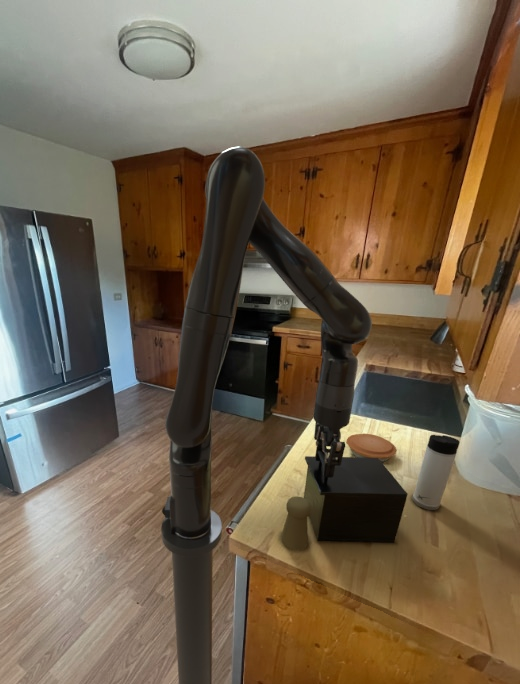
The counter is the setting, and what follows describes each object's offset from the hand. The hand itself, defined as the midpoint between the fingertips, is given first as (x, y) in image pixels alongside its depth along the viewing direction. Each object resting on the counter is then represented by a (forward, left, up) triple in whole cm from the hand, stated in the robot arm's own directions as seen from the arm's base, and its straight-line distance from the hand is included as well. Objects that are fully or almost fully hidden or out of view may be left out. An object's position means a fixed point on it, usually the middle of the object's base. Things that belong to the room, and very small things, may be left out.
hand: (323, 467), depth 76 cm
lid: (+7, 0, -2) cm, 7 cm away
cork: (-7, -7, -15) cm, 18 cm away
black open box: (+7, 0, -15) cm, 17 cm away
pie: (+26, +32, -15) cm, 44 cm away
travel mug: (+31, +7, -15) cm, 35 cm away
